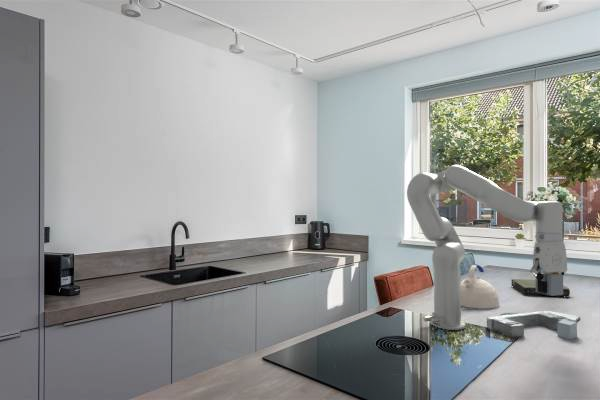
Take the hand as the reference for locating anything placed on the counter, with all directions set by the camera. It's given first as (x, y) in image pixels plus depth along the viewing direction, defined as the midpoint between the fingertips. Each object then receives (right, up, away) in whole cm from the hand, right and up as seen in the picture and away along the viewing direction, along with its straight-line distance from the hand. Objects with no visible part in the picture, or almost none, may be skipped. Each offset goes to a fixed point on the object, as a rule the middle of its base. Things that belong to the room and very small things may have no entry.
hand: (549, 291), depth 130 cm
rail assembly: (+2, -17, +14) cm, 22 cm away
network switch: (+42, -18, +73) cm, 87 cm away
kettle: (-1, -18, +52) cm, 55 cm away
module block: (0, -1, 0) cm, 1 cm away
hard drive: (+23, -18, +29) cm, 41 cm away
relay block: (+10, -17, +6) cm, 21 cm away
